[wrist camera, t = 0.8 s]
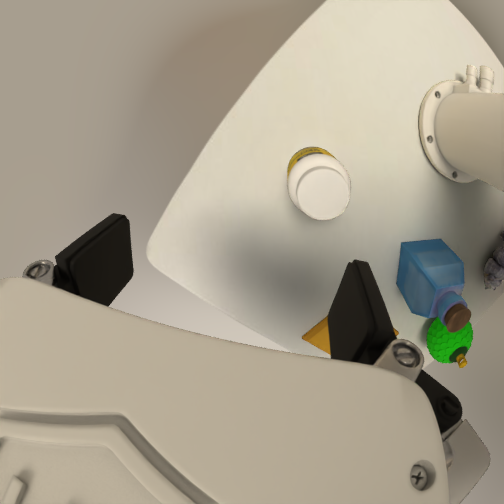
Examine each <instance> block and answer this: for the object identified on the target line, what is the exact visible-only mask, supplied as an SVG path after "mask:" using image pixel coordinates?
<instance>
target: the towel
mask: <svg viewBox="0 0 504 504" xmlns="http://www.w3.org/2000/svg"><path fill="white" fill-rule="evenodd" d="M327 319H328V316H327V317H326V318H324V319H323V320H322V321H321V322H320V323H318V324H317V325H316V326H315V327H313V328H312V329H311V330H310V331H308V332H307V333H306V334H305V335H303V336H302V339H303V340H305V341H307V342H309V343H311V344H313V345H314V346H316V347H318V348H320V349H321V350H323V351H325V352H327V353H328V354H330V355H331V353H330V342H329V331H328V321H327ZM393 329H394V328H393ZM394 332H395V335H396V336H397V335H398V334H399V333H398V331H397V330H395V329H394Z"/></svg>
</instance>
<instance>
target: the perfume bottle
mask: <svg viewBox="0 0 504 504" xmlns="http://www.w3.org/2000/svg"><path fill="white" fill-rule="evenodd" d="M396 284H397V286H398V288H399V290H400V291H401V293H402V295H403V297H404V299H405V301H406V303H407V305H408V307H409V309H410V311H411V313H413V314H416V315H420V316H423V317H426V318H432V317H437V316H439V319H440V321H441V322H442V324H443V325H445V326H446V327H447V330H448V332H451V333H454V332H457V331H459V330H461V329H462V328H463V327H465V326H466V324H467V323H468V322H469V320H470V317H471V311H470V310H469V309H468V308H467V303H466V302H465V300H464V299H463V298H462V296H461V294H462V291H463V288H464V284H465V282H464V262H463V261H462V260H461V259H460V258H459V257H458V256H457V255H456V254H455V253H454V252H453V251H452V250H451V249H450V248H449V247H448V246H447V245H446V244H445V243H444V242H443V241H442V240H441V239H433V240H423V241H413V242H402V243H401V251H400V260H399V269H398V276H397V283H396Z"/></svg>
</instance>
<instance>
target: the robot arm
mask: <svg viewBox="0 0 504 504" xmlns="http://www.w3.org/2000/svg"><path fill="white" fill-rule="evenodd" d="M466 75H467V79H466V81H465V82H462V81H457V80H447V81H443V82H439V83H438V84H436V85H434V86H433V87H432V88H431V89H430V90H429V91H428V92H427V94H426V96H425V97H424V100H423V102H422V105H421V109H420V115H419V130H420V137H421V141H422V144H423V148H424V150H425V152H426V155H427V157H428V158H429V160H430V162H431V163H432V165H433V166H434V167H435V168H436V169H437V171H438V172H440V173H441V174H442V175H443V176H445V177H447V178H449V179H450V180H453V181H456V182H459V183H468V182H473V181H475V180H477V179H480V180H482V181H484V182H486V183H488V184H490V185H492V186H494V187H495V188H497V189H499V190H501V191H503V192H504V94H503V93H492V86H493V83H494V71H493V70H492V69H491V68H489V67H486V66H480V87H477V86H476V79H477V68H476V67H474V66H471V65H467V71H466ZM427 137H428V140H427ZM55 259H56V263H57V265H55V266H54V264H53V263H52V262H51V261H48V260H39V261H36V262H34V263H32V264H30V265H29V266H27V268H26V269H25V270H24V272H23V276H22V277H9V278H3V279H0V504H460V503H461V502H462V501H463V500H464V498H465V497H466V496H467V495H468V494H469V492H470V491H471V490H472V489H473V488H474V486H475V485H476V484H477V482H478V481H479V480H480V478H481V477H482V476H483V475H484V473H485V472H486V470H487V469H488V467H489V465H490V453H489V451H488V449H487V447H486V446H485V445H484V443H483V442H482V440H481V439H480V438H479V436H478V435H477V433H476V432H475V430H474V429H473V428H472V426H471V425H470V424H469V422H468V421H467V420H466V419H465V420H464V421H462V419H461V416H462V407H461V403H460V402H459V400H458V398H457V397H456V396H455V395H454V394H452V393H451V392H450V391H449V390H447V389H446V388H445V387H444V386H442V385H441V384H440V383H439V382H437V381H436V380H435V379H433V378H432V377H431V376H430V375H428V374H427V373H426V372H425V371H423V370H422V367H423V364H424V356H423V354H422V352H421V350H420V349H419V348H418V347H417V346H416V345H415V344H414V343H412V342H410V341H408V340H405V339H397V338H396V335H395V332H394V329H393V326H392V323H391V320H390V317H389V314H388V312H387V309H386V306H385V303H384V301H383V298H382V296H381V293H380V291H379V288H378V285H377V283H376V280H375V278H374V276H373V273H372V271H371V268H370V266H369V264H368V262H364V261H359V260H354V261H353V262H349V263H348V265H347V267H346V270H345V273H344V275H343V278H342V281H341V283H340V286H339V288H338V291H337V293H336V296H335V298H334V301H333V303H332V306H331V308H330V311H329V313H328V319H327V321H328V331H329V342H330V353H331V359H329V358H323V357H315V356H309V355H302V354H296V353H290V352H284V351H278V350H272V349H266V348H262V347H256V346H251V345H247V344H242V343H237V342H232V341H228V340H223V339H219V338H215V337H211V336H206V335H202V334H198V333H194V332H190V331H186V330H183V329H179V328H175V327H172V326H168V325H165V324H161V323H158V322H154V321H151V320H147V319H144V318H141V317H138V316H135V315H131V314H128V313H125V312H122V311H119V310H116V309H113V308H110V307H108V306H109V305H110V304H111V303H112V301H113V300H114V299H115V298H116V296H117V295H118V294H119V293H120V292H121V290H122V289H123V288H124V287H125V286H126V284H127V283H128V282H129V281H130V280H131V278H132V276H133V261H132V250H131V238H130V223H129V220H128V219H127V218H126V216H125V215H121V214H115V213H113V214H111V215H110V216H108V217H107V218H105V219H104V220H103V221H101V222H100V223H98V224H97V225H96V226H94V227H93V228H91V229H90V230H89V231H87V232H86V233H85V234H83V235H82V236H81V237H79V238H78V239H77V240H75V241H74V242H73V243H71V244H70V245H69V246H68V247H66V248H65V249H64V250H63V251H61V252H60V253H59V254H58V255H56V256H55Z"/></svg>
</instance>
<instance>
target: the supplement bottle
mask: <svg viewBox="0 0 504 504" xmlns="http://www.w3.org/2000/svg"><path fill="white" fill-rule="evenodd" d="M287 187H288V192H289V196H290V198H291V200H292V202H293V203H294V204H295V206H296V207H297V208H299V209H300V210H301V211H302V212H304V213H305V214H306V215H308V216H309V217H311V218H313V219H316V220H331V219H333V218H336V217H337V216H339V215H340V214H341V213H343V211H344V210H345V209H346V207H347V205H348V203H349V199H350V191H351V181H350V177H349V174H348V172H347V170H346V168H345V167H344V166H343V165H342V164H341V163H340V162H339V161H338V160H337V159H336V158H335V157H334V156H333V155H331V154H330V153H329V152H327V151H326V150H324V149H322V148H319V147H306V148H303V149H301V150H299V151H298V152H296V153H295V154H294V155H293V157H292V158H291V160H290V162H289V165H288V171H287Z"/></svg>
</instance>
